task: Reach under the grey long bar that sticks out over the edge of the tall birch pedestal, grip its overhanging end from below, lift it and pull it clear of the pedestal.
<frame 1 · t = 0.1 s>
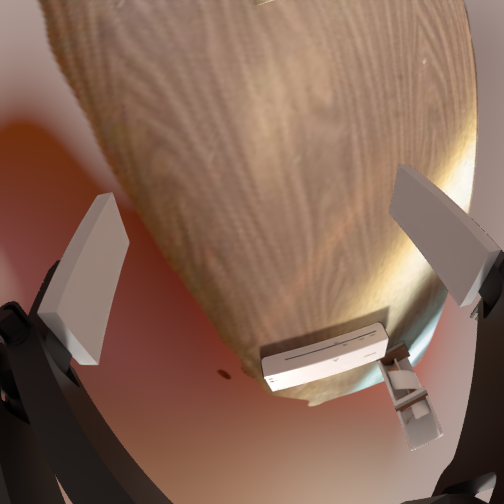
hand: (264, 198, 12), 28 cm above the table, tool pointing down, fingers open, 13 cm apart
white tower: (392, 353, 86), on the table
laminator: (323, 350, 77), on the table
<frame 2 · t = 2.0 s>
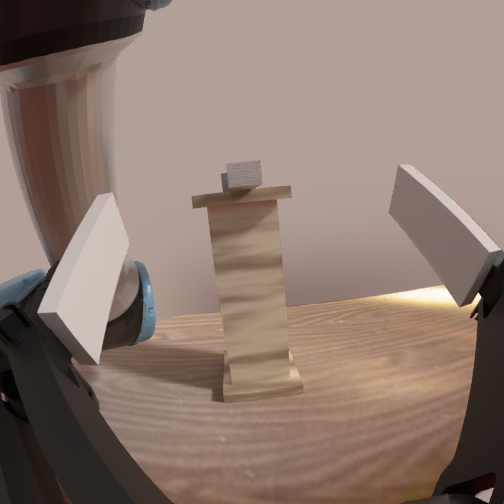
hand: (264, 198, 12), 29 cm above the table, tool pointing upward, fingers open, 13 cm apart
pedestal: (259, 373, 47), on the table
grey long bar: (239, 191, 41), point 30 cm above the table, touching pedestal
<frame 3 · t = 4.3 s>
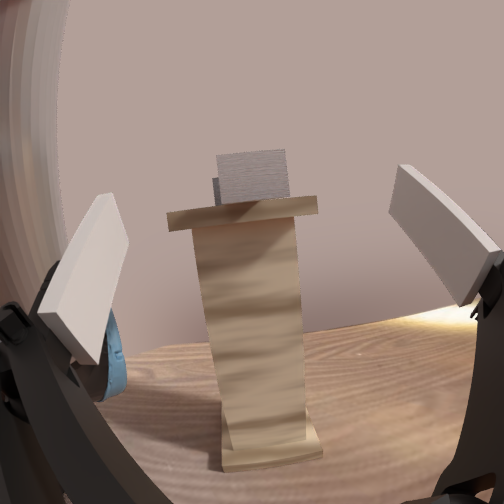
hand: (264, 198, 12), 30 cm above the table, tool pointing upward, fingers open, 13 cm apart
pedestal: (266, 431, 34), on the table
grey long bar: (238, 203, 29), point 30 cm above the table, touching pedestal
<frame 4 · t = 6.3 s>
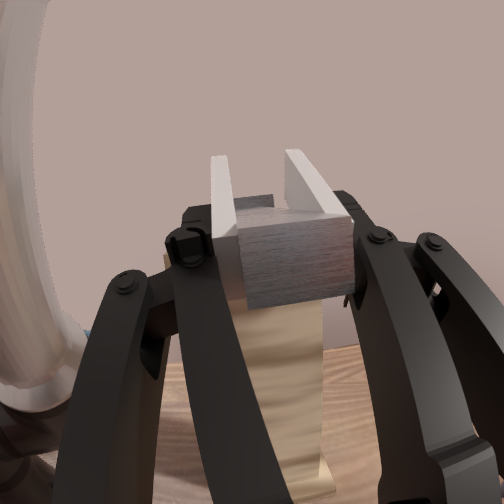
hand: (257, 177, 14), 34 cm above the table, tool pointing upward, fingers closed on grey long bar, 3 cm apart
pedestal: (276, 465, 30), on the table
grey long bar: (250, 232, 25), point 30 cm above the table, touching gripper, pedestal
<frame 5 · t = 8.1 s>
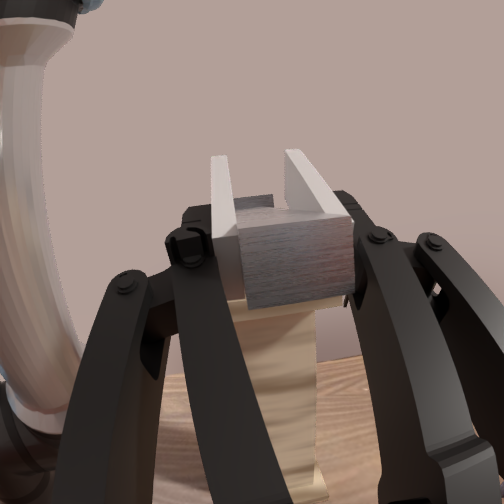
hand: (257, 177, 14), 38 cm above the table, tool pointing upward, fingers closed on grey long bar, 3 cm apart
pedestal: (275, 473, 32), on the table
grey long bar: (250, 232, 25), point 34 cm above the table, touching gripper
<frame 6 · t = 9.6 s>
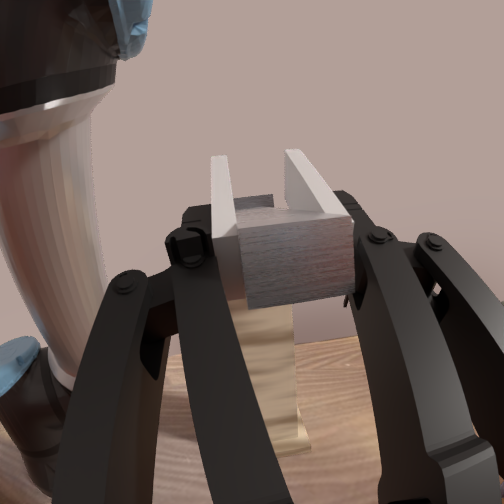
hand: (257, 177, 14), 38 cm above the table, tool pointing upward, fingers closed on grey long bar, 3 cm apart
pedestal: (266, 429, 42), on the table
grey long bar: (250, 232, 25), point 34 cm above the table, touching gripper
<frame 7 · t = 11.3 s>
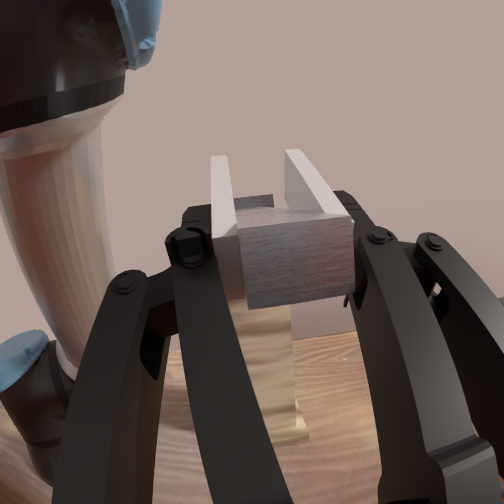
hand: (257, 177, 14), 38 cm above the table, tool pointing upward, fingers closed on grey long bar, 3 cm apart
pedestal: (266, 420, 44), on the table
grey long bar: (250, 232, 25), point 34 cm above the table, touching gripper
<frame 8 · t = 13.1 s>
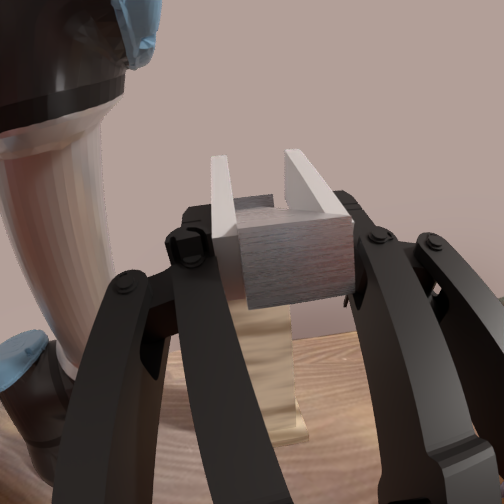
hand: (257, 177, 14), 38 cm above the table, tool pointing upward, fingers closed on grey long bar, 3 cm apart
pedestal: (266, 420, 44), on the table
grey long bar: (250, 232, 25), point 34 cm above the table, touching gripper
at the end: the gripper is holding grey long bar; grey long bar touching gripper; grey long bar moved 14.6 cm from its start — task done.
